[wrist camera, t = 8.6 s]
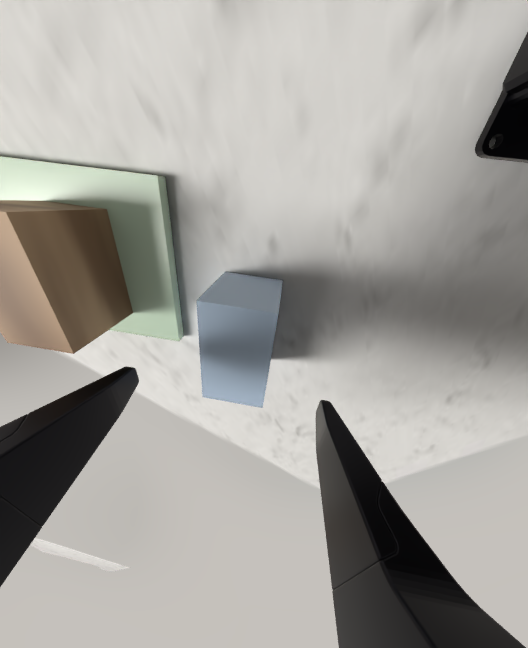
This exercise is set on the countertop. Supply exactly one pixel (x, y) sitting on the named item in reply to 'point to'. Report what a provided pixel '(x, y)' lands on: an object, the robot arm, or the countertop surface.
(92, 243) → the walnut brick
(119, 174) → the baseplate
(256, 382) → the slate brick
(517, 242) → the countertop surface
